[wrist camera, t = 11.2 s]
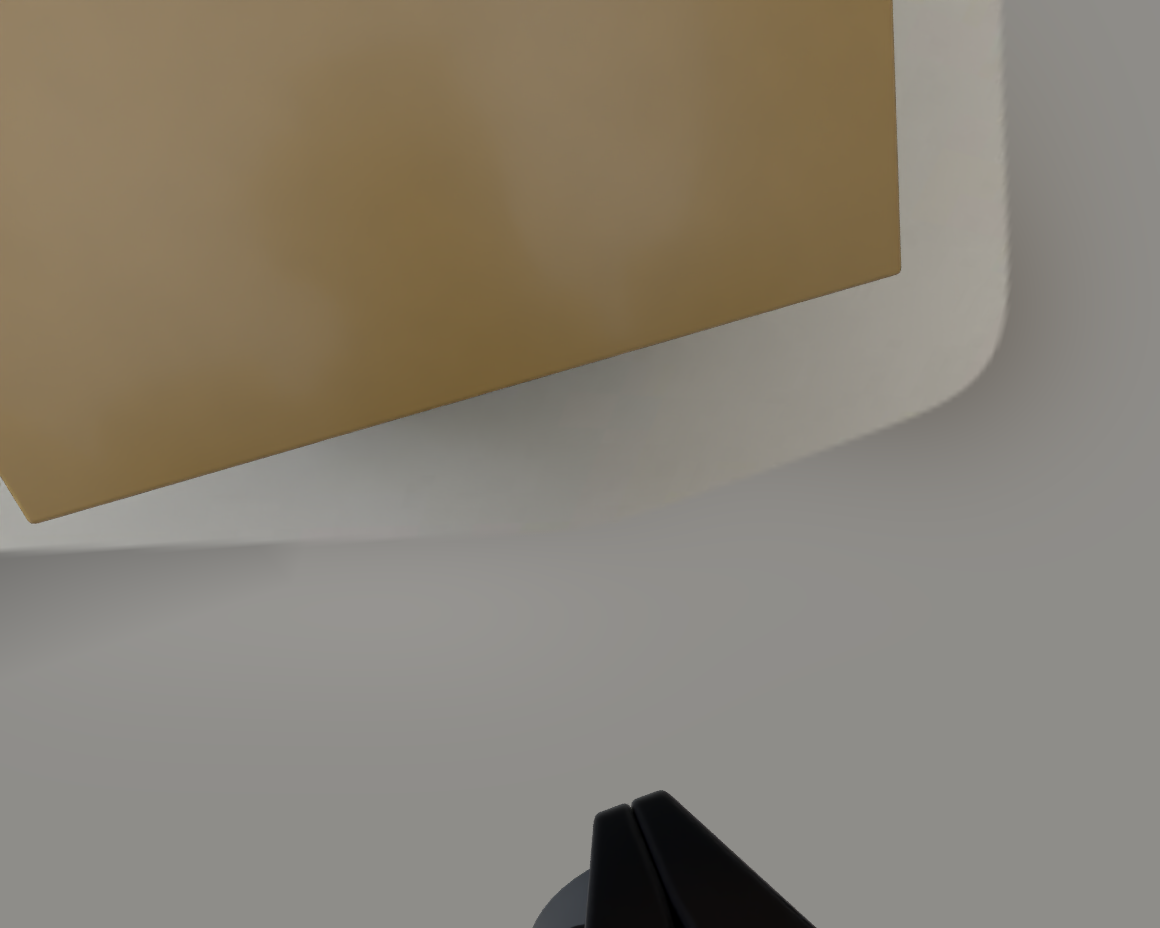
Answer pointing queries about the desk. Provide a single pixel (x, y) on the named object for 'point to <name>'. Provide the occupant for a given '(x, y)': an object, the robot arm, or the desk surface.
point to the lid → (401, 208)
